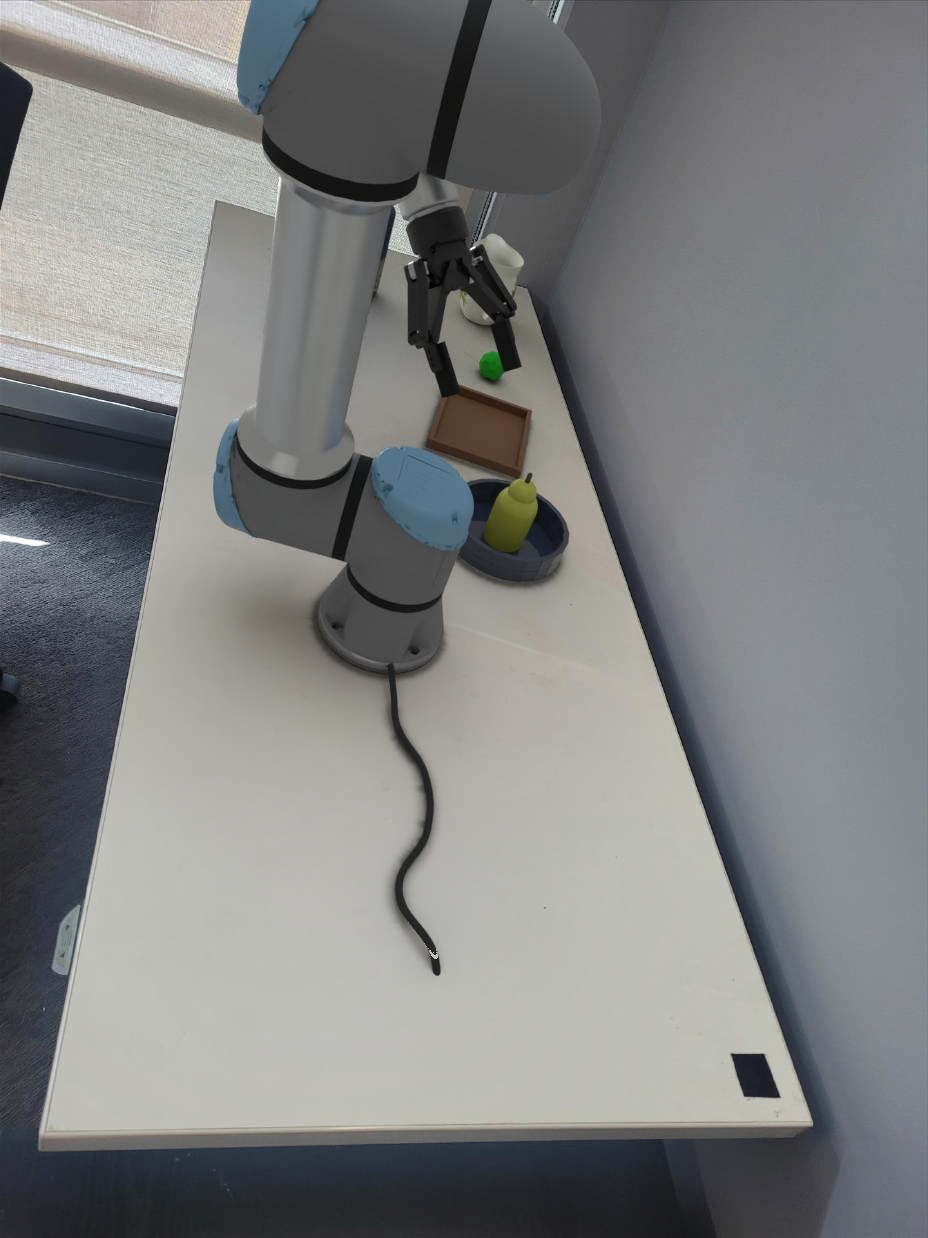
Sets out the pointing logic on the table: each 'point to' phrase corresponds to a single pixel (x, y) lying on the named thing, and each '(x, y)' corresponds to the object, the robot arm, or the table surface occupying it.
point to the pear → (512, 515)
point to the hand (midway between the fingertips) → (483, 382)
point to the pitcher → (506, 267)
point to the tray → (482, 431)
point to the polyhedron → (491, 365)
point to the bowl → (537, 548)
